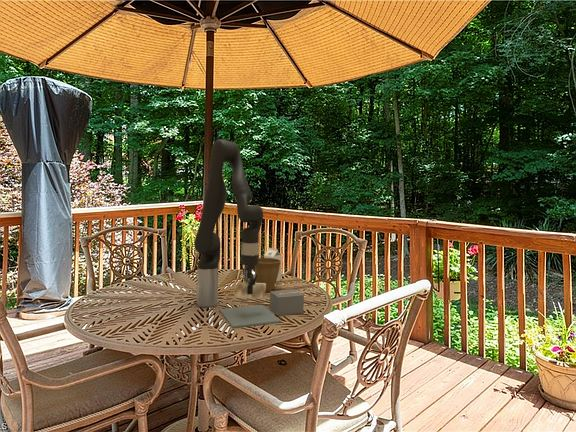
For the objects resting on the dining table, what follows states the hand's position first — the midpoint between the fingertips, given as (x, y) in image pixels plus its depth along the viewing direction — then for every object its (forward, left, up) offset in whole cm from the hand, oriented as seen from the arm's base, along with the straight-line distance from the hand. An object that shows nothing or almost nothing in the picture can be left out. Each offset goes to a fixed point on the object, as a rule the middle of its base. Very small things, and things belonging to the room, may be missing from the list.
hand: (249, 293), depth 171 cm
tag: (+7, 0, +1) cm, 7 cm away
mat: (0, 0, -10) cm, 10 cm away
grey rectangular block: (+18, +2, -10) cm, 21 cm away
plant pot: (+21, +37, -10) cm, 44 cm away
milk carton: (+31, +54, -10) cm, 63 cm away
